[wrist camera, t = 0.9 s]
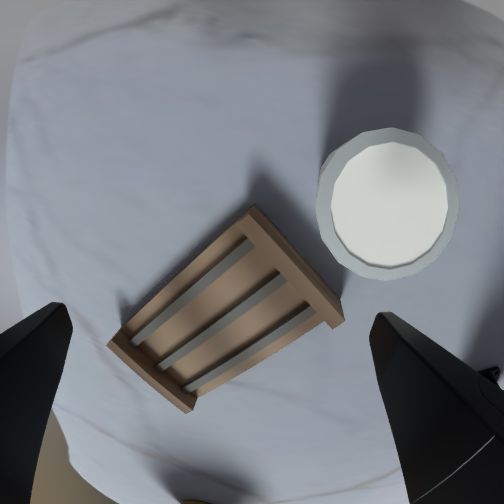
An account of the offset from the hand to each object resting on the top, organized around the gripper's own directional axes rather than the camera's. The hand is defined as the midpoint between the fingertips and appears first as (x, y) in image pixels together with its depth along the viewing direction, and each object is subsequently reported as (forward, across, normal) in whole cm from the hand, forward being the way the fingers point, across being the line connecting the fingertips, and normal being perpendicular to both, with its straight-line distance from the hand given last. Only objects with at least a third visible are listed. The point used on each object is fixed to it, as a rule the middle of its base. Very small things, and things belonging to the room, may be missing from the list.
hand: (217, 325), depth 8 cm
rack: (+12, +1, +10) cm, 16 cm away
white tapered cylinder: (+12, -8, -1) cm, 15 cm away
